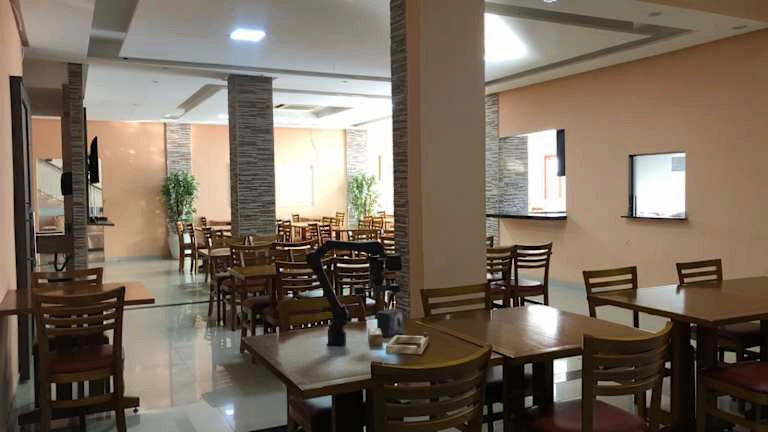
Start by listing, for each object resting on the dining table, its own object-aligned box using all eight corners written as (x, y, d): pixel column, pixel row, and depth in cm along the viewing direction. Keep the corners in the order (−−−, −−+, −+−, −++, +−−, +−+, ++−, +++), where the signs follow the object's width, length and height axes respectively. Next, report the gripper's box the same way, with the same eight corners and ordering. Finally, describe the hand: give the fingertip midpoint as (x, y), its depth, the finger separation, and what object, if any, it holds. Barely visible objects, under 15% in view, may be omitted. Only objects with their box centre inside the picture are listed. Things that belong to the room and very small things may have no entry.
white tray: (385, 352, 234) (385, 342, 234) (395, 341, 252) (395, 331, 252) (421, 354, 231) (421, 343, 231) (428, 342, 249) (428, 332, 249)
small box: (388, 338, 257) (388, 313, 257) (376, 336, 261) (375, 311, 261) (403, 333, 266) (403, 309, 265) (391, 332, 270) (390, 308, 269)
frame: (369, 347, 243) (369, 334, 243) (368, 340, 255) (368, 328, 255) (382, 347, 244) (382, 334, 244) (380, 340, 256) (380, 327, 256)
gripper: (357, 275, 239) (357, 315, 240) (403, 273, 243) (404, 312, 244) (351, 272, 250) (352, 310, 251) (396, 270, 254) (397, 307, 255)
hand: (376, 310), depth 250 cm, fingers open, 9 cm apart
